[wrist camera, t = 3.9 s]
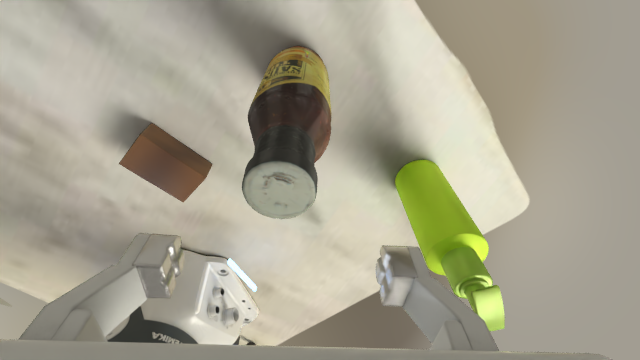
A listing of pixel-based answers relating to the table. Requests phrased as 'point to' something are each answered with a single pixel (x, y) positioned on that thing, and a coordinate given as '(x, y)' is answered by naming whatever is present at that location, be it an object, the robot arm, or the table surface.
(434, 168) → the lime green necked cylinder
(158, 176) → the plywood offcut
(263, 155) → the sauce bottle
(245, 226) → the table surface
